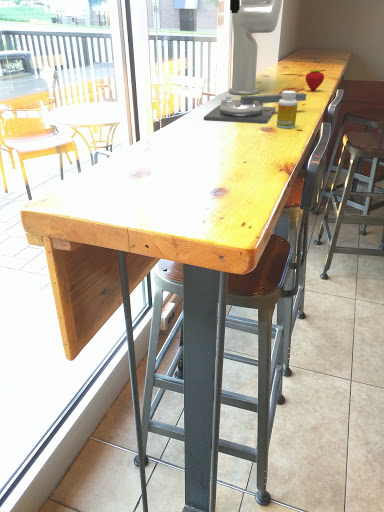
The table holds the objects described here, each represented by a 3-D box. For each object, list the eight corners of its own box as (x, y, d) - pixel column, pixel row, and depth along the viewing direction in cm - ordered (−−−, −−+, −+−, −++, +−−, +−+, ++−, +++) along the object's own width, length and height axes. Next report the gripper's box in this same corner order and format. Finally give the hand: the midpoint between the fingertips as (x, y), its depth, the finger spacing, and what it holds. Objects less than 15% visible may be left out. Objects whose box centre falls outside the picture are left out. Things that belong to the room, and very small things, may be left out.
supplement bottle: (295, 128, 119) (299, 93, 114) (276, 128, 120) (279, 93, 115) (294, 124, 123) (298, 90, 118) (276, 124, 124) (279, 89, 119)
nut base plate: (219, 107, 146) (219, 103, 146) (275, 110, 141) (275, 106, 140) (203, 120, 130) (203, 115, 129) (266, 123, 125) (266, 119, 124)
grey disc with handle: (294, 103, 145) (295, 90, 143) (312, 111, 133) (314, 97, 131) (215, 108, 140) (215, 94, 137) (227, 117, 128) (227, 102, 126)
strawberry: (322, 92, 169) (325, 66, 164) (303, 92, 171) (306, 66, 166) (322, 90, 174) (326, 64, 169) (304, 89, 176) (307, 64, 171)
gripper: (262, -54, 132) (258, 12, 141) (217, -51, 136) (216, 13, 145) (258, -57, 125) (254, 12, 135) (211, -54, 129) (210, 13, 139)
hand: (234, 12), depth 140 cm, fingers closed
